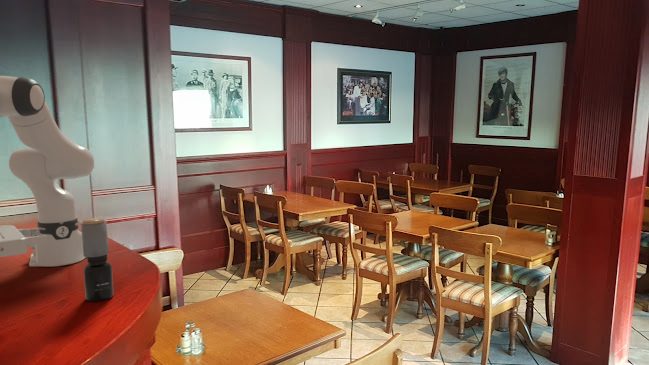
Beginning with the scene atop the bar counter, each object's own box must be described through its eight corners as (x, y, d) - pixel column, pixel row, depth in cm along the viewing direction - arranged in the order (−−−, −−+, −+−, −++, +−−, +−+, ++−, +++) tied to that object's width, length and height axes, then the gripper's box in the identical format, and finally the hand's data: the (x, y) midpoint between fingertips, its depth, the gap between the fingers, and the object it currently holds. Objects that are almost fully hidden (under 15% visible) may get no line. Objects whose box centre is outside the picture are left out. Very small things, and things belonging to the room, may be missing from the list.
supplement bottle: (103, 303, 125) (99, 258, 124) (80, 301, 127) (76, 257, 125) (119, 293, 132) (116, 251, 130) (97, 292, 133) (93, 250, 132)
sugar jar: (81, 253, 128) (78, 219, 127) (105, 249, 132) (102, 216, 131) (87, 258, 123) (84, 223, 122) (111, 254, 127) (109, 219, 126)
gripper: (-24, 239, 102) (50, 229, 111) (-31, 224, 118) (34, 216, 126) (-21, 268, 103) (53, 255, 111) (-29, 249, 118) (36, 240, 127)
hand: (43, 234), depth 119 cm, fingers open, 8 cm apart
